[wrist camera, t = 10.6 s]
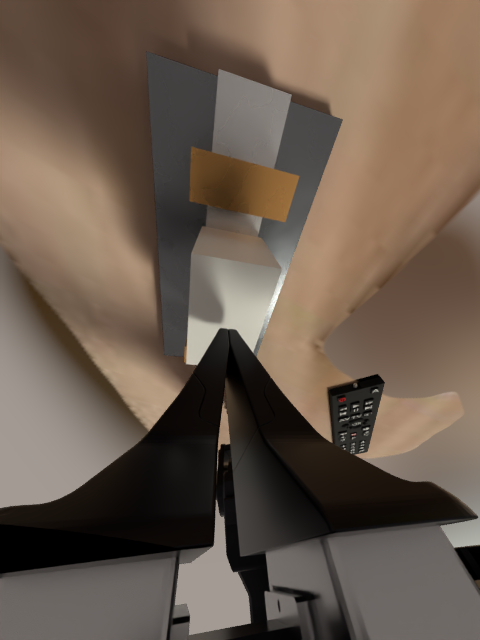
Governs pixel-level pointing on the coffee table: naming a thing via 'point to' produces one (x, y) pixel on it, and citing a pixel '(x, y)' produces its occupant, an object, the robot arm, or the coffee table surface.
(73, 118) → the coffee table surface
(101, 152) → the coffee table surface
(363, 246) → the coffee table surface
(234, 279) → the plain light gray block
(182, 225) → the rail mount
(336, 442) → the remote control
